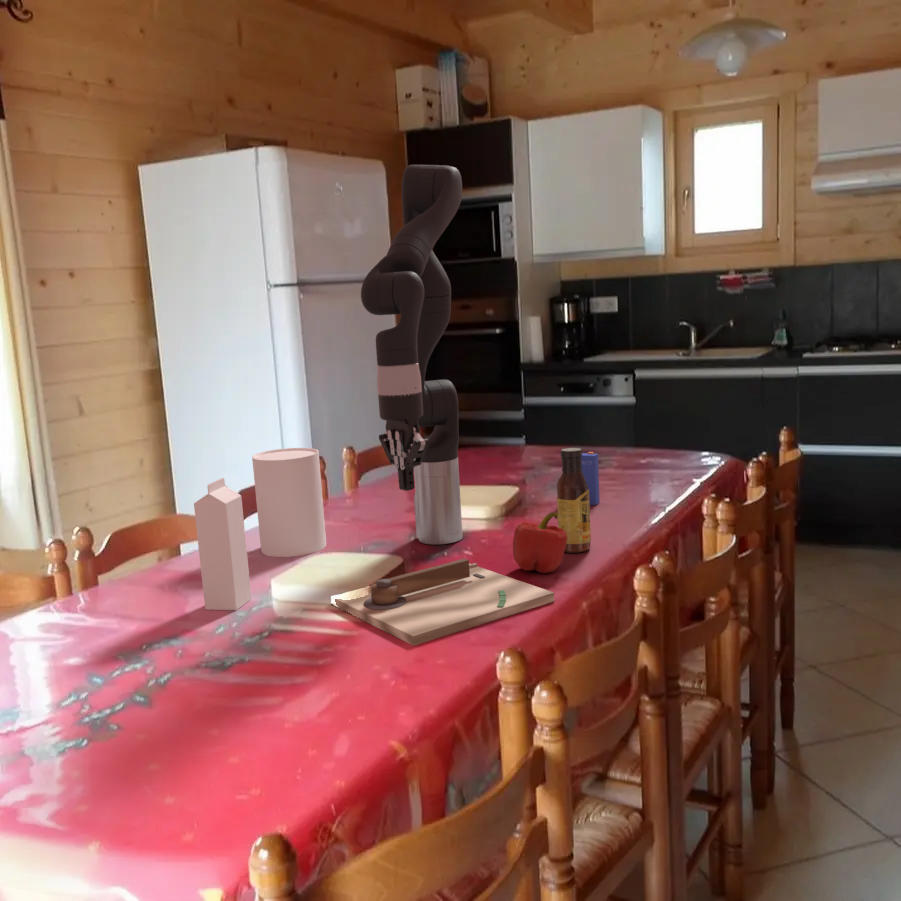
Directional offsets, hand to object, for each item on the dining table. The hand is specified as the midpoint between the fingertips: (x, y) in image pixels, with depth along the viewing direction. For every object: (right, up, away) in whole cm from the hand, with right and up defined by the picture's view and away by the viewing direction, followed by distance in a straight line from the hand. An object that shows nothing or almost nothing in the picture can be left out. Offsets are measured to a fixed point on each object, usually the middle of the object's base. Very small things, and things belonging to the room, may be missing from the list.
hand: (406, 489), depth 169 cm
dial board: (+6, -19, -5) cm, 21 cm away
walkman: (+38, -6, +58) cm, 70 cm away
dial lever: (+4, -17, -4) cm, 17 cm away
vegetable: (+24, -15, +10) cm, 30 cm away
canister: (-25, -14, +35) cm, 45 cm away
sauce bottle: (+32, -13, +21) cm, 40 cm away
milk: (-31, -20, 0) cm, 37 cm away
